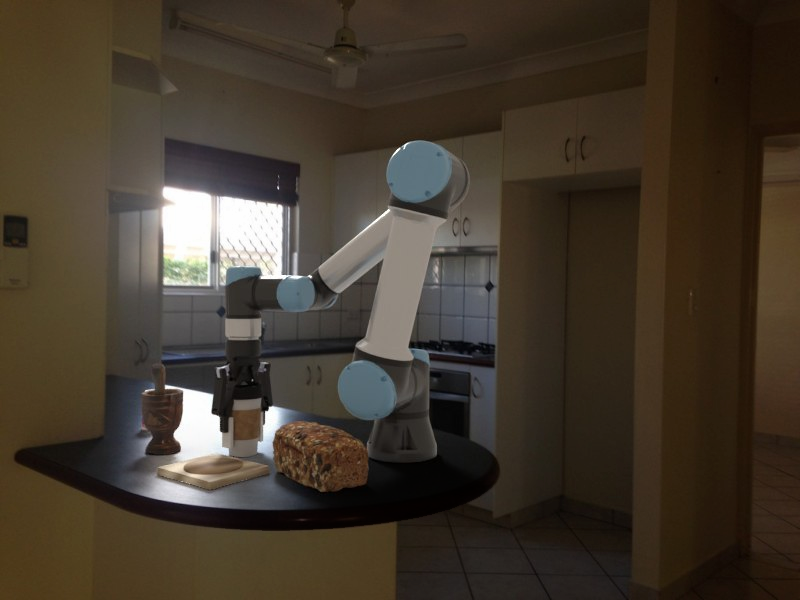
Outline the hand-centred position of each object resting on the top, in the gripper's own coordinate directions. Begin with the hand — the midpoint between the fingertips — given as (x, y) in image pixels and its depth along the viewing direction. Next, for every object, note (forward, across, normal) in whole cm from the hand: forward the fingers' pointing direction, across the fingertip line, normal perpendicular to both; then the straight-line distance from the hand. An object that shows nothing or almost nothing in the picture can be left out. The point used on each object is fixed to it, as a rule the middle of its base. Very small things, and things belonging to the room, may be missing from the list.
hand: (243, 443), depth 149 cm
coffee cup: (+2, 0, 0) cm, 2 cm away
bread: (+3, +3, +26) cm, 26 cm away
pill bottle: (+2, -3, -38) cm, 38 cm away
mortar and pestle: (+2, +10, -14) cm, 17 cm away
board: (+2, +14, +8) cm, 16 cm away
